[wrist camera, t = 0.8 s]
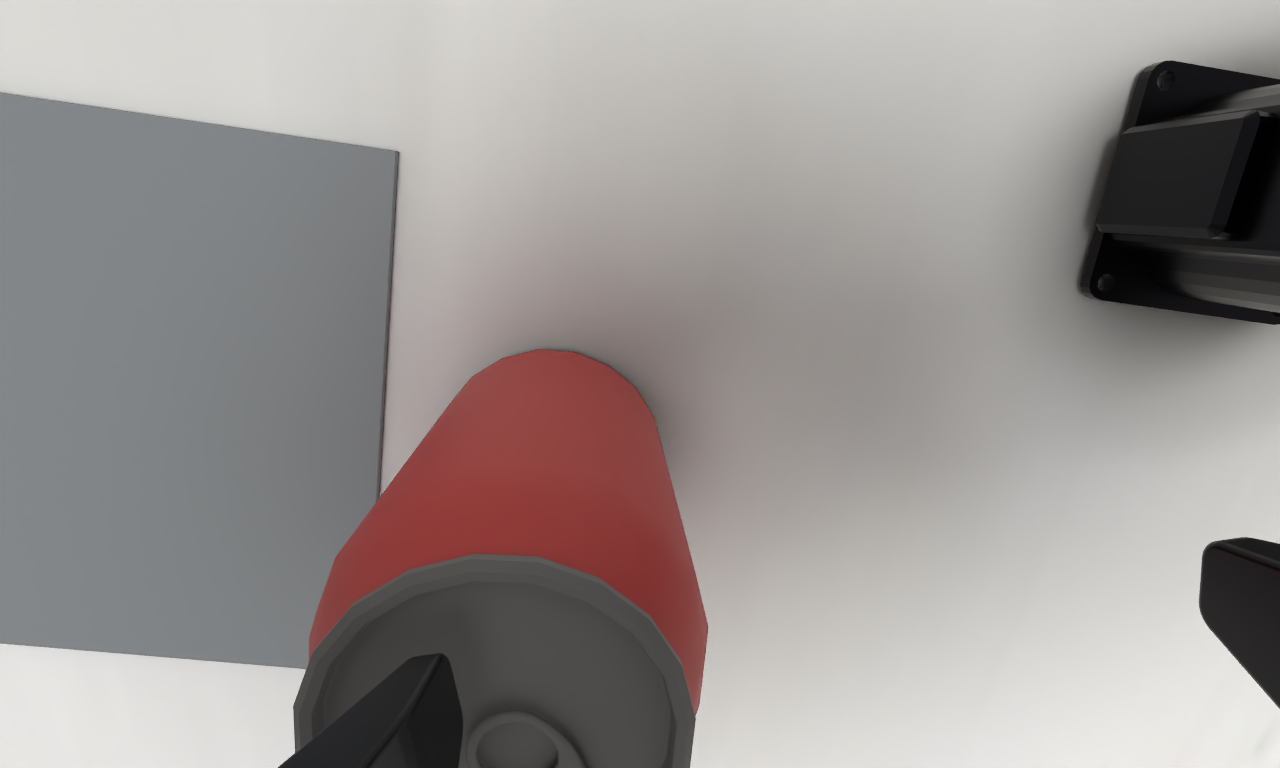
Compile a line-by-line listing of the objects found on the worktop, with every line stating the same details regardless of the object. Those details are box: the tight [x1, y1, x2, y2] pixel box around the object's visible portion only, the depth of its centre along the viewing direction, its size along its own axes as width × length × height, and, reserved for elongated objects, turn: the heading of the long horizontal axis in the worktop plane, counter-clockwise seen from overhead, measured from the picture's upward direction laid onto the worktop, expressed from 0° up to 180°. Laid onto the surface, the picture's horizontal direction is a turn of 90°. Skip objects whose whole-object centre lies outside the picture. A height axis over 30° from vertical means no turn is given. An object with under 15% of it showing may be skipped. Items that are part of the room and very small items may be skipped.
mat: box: [0, 93, 398, 669], centre depth 20 cm, size 12×16×1 cm
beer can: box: [293, 350, 708, 768], centre depth 16 cm, size 7×7×12 cm
